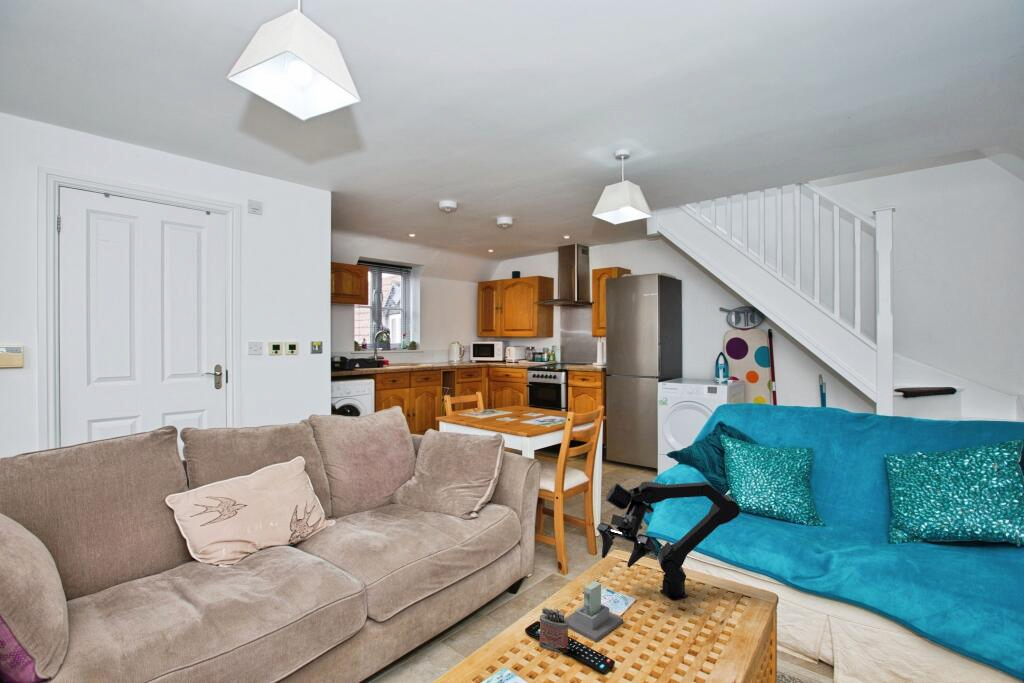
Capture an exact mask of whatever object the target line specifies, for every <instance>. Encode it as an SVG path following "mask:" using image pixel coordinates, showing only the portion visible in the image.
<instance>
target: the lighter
mask: <svg viewBox="0 0 1024 683" xmlns="http://www.w3.org/2000/svg"><path fill="white" fill-rule="evenodd" d="M541 613H542V614H541V615H539V622H540V623H539V625H540V626H539V642H538V644H539V647H540V648H541V649H543V650H546V651H549V652H552V653H555V654H556V653H557V654H561V653H560V651H559V650H558V648H566V647H567V646H568V647H569V628H568V626H569V621H567V620H565V619H564V618H565V612H562V611H559V609H557V608H554V609H552V608H548V607H543V608H541Z"/></svg>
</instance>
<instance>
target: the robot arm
mask: <svg viewBox="0 0 1024 683" xmlns="http://www.w3.org/2000/svg"><path fill="white" fill-rule="evenodd" d="M697 497H698V498H699V497H700V498H701V497H706V498H707V499H709V500H710V502H712V505H710V506H711V507H710V509H709V511H708V513H707V514H705V516H704V517H702V519H701V520H700V521H699V522H697V523H696V525H694V526H693V527H692V528H691V529H690V530H689V531H688V532H686V533H685V534H684V535H683V536H682V537H681V538H680V539H679V540H678V541H676V542H675V543H672V544H671V543H670V541H667V542H665V544H664V545H663V546H662V547H660V548H658V549H659V551H658V553H657V561H658V564H659V566H660V568H661V571H663V573H664V574H663V578H662V589H659V592H660V593H661V594H662V595H664V596H666V598H669V599H670V600H672V601H677V600H681V599H685V598H689V594H688V593H686V592H685V591H686V579H687V575H686V573H685V570H684V568H683V565H684V563H685V560H686V558H687V556H688V555H689V554H690V553H691V552H692V551H693V550H694V549H696V547H698V546H699V545H700V544H701V543H702V542H703V541H704V540H705V539H706V538H707V537H708V536H710V534H712V533H713V532H714V531H715V530H716V529H717V528H718V527H719V526H722V525H724V524H727V523H728V524H729V523H730V522H731V521H733V520H734V519H736V518H738V517H739V515H740V513H741V508H740V505H739V504H738V503H737V502H736V501H735V500H734V499H733V497H731V496H729V495H727V494H722V493H721V491H719V490H718V489H716V488H715V487H714V486H712V484H710V483H709V482H708V481H705V480H704V481H700V482H688V483H671V484H663V483H659V482H654V481H653V482H652V481H643V482H641V483H640V484H639V486H637V487H636V486H635V487H633V488H630V489H628V490H627V489H626V488H625V487H623V486H622V485H621V484H619V482H616V483H615V484H614V485H613V486H612V487H611V488H610V489H609V491H608V493H607V495H606V497H605V501H606V502H607V503H609V504H611V505H612V506H614V507H616V508H617V509H618V510H620V511H621V510H626V511H625V513H622V514H621V515H617V514H612V517H611V520H610V524H608V523H605V522H600V523H599V524H598V525H597V527H596V530H597V532H599V534H600V535H601V538H602V546H601V547H602V549H601V557H602V559H605V558H606V557H607V555H608V553H609V552H610V550H611V548H612V545H614V540H615V538H618V539H620V540H623V541H627V542H631V543H632V544H633V549H632V551H631V554H630V556H629V559H628V561H627V565H626V566H627V568H629V569H630V568H631V567H632V566H633V565H634V564H635V563H637V562H638V561H639V560H641V558H643V557H644V556H646V555H650V554H655V551H656V548H657V547H656V546H657V545H656V544H655V542H654V541H653V539H652V538H651V537H650V536H648V535H645V534H641V533H639V531H640V530H642V529H643V525H642V523H643V521H644V519H645V516H646V514H651V513H654V512H655V510H654V508H653V506H652V504H656V503H661V502H663V501H666V500H669V499H680V498H681V499H683V498H697ZM612 526H614V528H615V529H616V530H614V528H613V527H612ZM638 533H639V534H638Z"/></svg>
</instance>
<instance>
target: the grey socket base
mask: <svg viewBox="0 0 1024 683" xmlns="http://www.w3.org/2000/svg"><path fill="white" fill-rule="evenodd" d="M564 619H565V620H567V621H569V626H568V630H571V631H573V632H574V633H575V632H576V634H579V635H581V636H583V637H585V638H587V639H588V640H590V641H592V642H594V643H596V642H598V641H599V640H601V639H602V638H603V637H605V636H607V634H609V633H610V632H612V630H614V629H616V628H617V627H618V626H619V625H621V624H623V623H624V618H623V617H620V616H619V615H616V614H614V613H612V612H610V606H607V605H604V604H602V603H601V611H600V612H598V613H597V614H595V615H594V616H592V617H591V616H589V615H587V614H585V613H584V605H582V606H581V607H579V608H577V609H576V610H575V611H574V612H573V613H570V614H569V615H568V616H566V617H564Z"/></svg>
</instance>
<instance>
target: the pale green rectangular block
mask: <svg viewBox="0 0 1024 683" xmlns="http://www.w3.org/2000/svg"><path fill="white" fill-rule="evenodd" d="M601 604H602V583H601V582H598V581H596V580H593V581H591V582H589V583H588V584H586V585H584V586H583V606H584V613H585V614H587V615H589V616H591V617H592V616H594V615H595V614H597V613H598V612H600V611H601Z"/></svg>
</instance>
